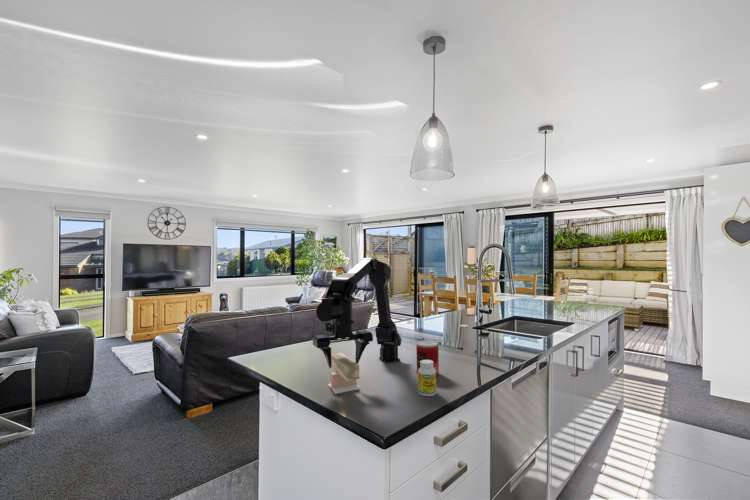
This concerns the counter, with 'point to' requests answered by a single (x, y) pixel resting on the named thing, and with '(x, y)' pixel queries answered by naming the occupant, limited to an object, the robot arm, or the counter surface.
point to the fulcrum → (341, 384)
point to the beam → (344, 366)
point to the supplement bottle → (427, 378)
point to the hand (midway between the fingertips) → (343, 365)
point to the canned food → (428, 353)
